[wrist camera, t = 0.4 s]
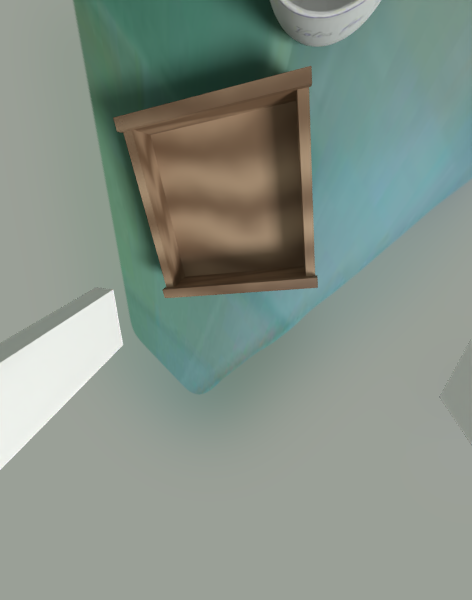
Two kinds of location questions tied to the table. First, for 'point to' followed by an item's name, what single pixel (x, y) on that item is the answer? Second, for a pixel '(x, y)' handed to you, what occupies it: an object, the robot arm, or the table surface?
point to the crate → (229, 186)
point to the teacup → (322, 19)
